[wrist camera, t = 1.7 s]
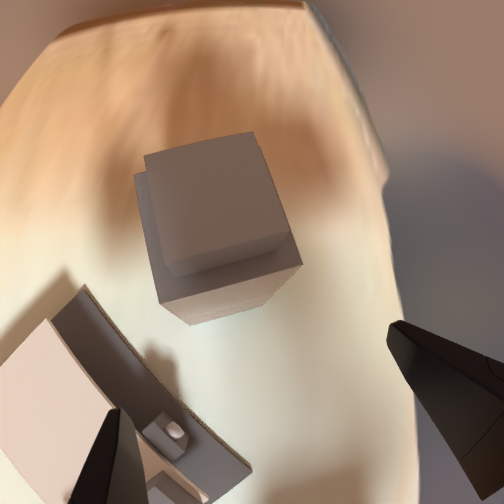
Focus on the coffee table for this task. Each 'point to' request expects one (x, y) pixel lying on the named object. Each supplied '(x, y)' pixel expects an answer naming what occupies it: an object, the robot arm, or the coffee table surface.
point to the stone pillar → (214, 228)
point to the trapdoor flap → (66, 423)
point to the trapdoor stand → (147, 400)
